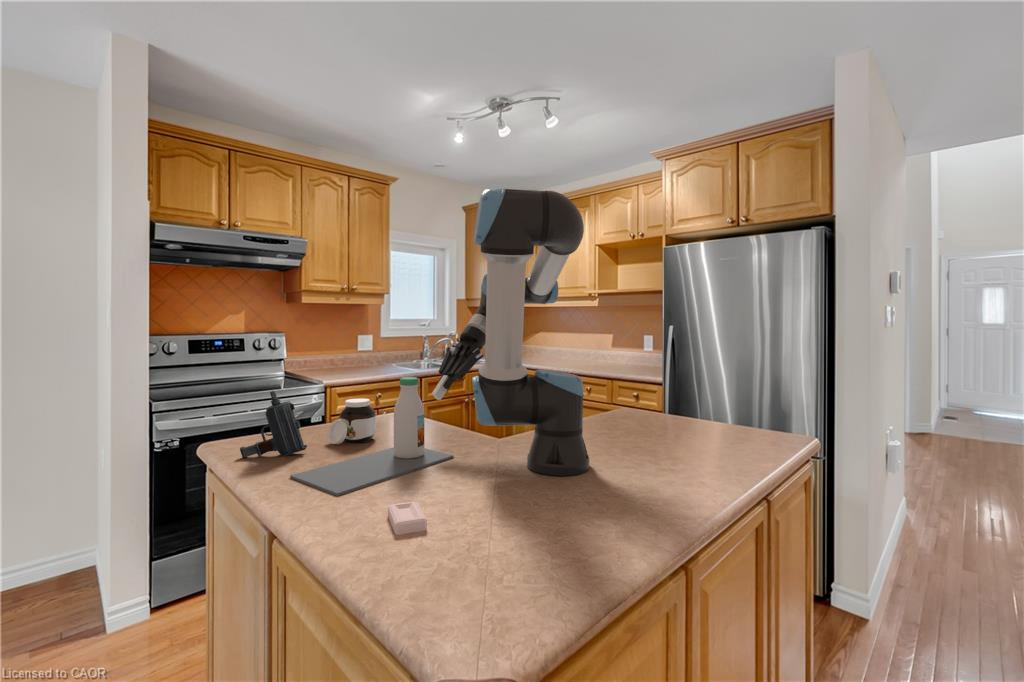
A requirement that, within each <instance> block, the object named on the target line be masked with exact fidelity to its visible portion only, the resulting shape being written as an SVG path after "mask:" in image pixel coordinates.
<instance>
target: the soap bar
mask: <svg viewBox="0 0 1024 682" xmlns="http://www.w3.org/2000/svg"><path fill="white" fill-rule="evenodd" d="M387 518H388V519H389V522H390V524H391V527H392V529H393V531H394V532H393V533H394V534H395V535H398V536H400V535H407V534H413V533H418V532H424V531H426V530H428V525H427V524H428V522H427V521H428V520H427V518H426V516H425V514H424V512H423V510H422V508H421V507H420V505H419V503H418V502H417V501H408V502H400V503H394V504H390V505H388V506H387Z"/></svg>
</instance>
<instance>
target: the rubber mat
mask: <svg viewBox="0 0 1024 682" xmlns="http://www.w3.org/2000/svg"><path fill="white" fill-rule="evenodd" d="M453 458H455V456H454V455H453V454H449V453H446V452H442V451H436V450H433V449H429V448H425V447H424V455H423V456H421V457H418V458H412V459H402V458H397V457H395V455H394V446H393V447H390V448H386V449H382V450H379V451H375V452H372V453H368V454H364V455H360V456H356V457H353V458H349V459H346V460H342V461H338V462H334V463H331V464H328V465H323V466H318V467H316V468H312V469H308V470H305V471H301V472H297V473H294V474H291V475H289V476H290V477H289V478H290V479H292V480H295V481H297V482H300V483H303V484H305V485H307V486H310V487H313V488H315V489H318V490H320V491H323V492H326V493H329V494H330V495H333V496H336V497H339V496H343V495H345V494H349V493H352V492H354V491H357V490H360V489H363V488H367V487H369V486H372V485H374V484H375V485H376V484H378V483H382V482H384V481H387V480H388V481H389V480H391V479H393V478H396V477H399V476H402V475H403V476H404V475H406V474H408V473H412V472H414V471H417V470H420V469H421V470H422V469H423V468H426V467H429V466H432V465H436V464H438V463H442V462H445V461H447V460H448V461H449V460H451V459H453Z"/></svg>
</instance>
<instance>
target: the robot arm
mask: <svg viewBox="0 0 1024 682" xmlns="http://www.w3.org/2000/svg"><path fill="white" fill-rule="evenodd" d="M474 226H475V227H474V235H473V243H474V244H475V245H476V246H480V254H481V255H482V256H483V257H484V258H485V260H486V261H487V262H486V266H487V267H486V273H485V274H484V275H483V277H482V282H481V286H480V298H479V299H480V301H479V306H478V307H477V310H476V311H475V313H473V315H472V317H471V318H470V319H469V321H468V323H467V324H466V327H464V329H463V331H461V333H460V335H459V341H458V342H457V343H456V344H455V345H454V347H450V346H448V347H447V348H445V349H446V351H445V354H444V358H442V359H443V360H442V362H441V364H440V367H439V370H438V371H437V372H438V374H439V375H440V378H439V380H438V381H437V383H436V386H435V388H434V389H433V391H432V392H431V395H432V396H433V397H434V398H435V399H436V401H437V400H438V401H441V400H442V399H443V398H444V395H445V394H446V393H447V390H449V389H451V386H452V385H453V383H454V382H455V381H457V380H458V381H461V380H463V378H464V377H465V376H466V375H467V373H469V371H470V370H471V369H473V367H474V366H475V364H477V362H479V360H481V359H482V358H483V357H484V356H485V357H484V359H485V360H484V363H483V364H482V365H481V366H480V367H479V368H478V375H475V376H473V377H472V379H471V380H472V381H471V382H472V389H473V390H472V391H473V398H474V403H475V412H476V420H477V422H478V423H479V424H480V425H482V426H494V427H498V426H499V427H501V426H502V427H503V426H531V425H532V426H533V425H534V435H533V439H532V441H531V444H530V448H529V452H528V454H527V457H526V466H527V468H528V469H529V470H530V471H533V472H534V473H537V474H541V475H546V476H555V477H557V476H558V477H561V476H562V477H566V476H575V475H581V474H584V473H586V472H588V471H589V470H590V457H589V454H588V450H587V447H586V444H585V440H584V436H583V432H584V431H583V428H584V427H583V425H584V423H583V421H584V419H583V418H584V417H583V416H584V415H583V413H584V397H585V394H584V383H583V382H584V381H583V379H582V378H581V376H578V375H577V374H572V373H569V372H564V371H558V370H551V369H550V370H549V369H536V370H535V371H534V373H533V375H531V376H529V375H528V374H529V371H528V369H527V368H526V367H525V366H524V365H523V345H524V344H523V343H524V342H523V341H524V322H525V321H524V319H525V318H524V317H525V304H527V305H529V304H531V305H546V304H547V305H549V304H555V303H556V302H557V300H558V296H559V283H558V278H559V277H560V275H561V273H562V271H563V269H564V267H565V265H566V263H567V260H568V259H569V256H570V255H572V254H573V253H575V252H576V251H577V250H578V248H579V246H580V245H581V243H582V240H583V237H584V232H585V230H584V229H585V226H584V220H583V217H582V215H581V213H580V210H579V209H578V207H577V206H576V204H575V203H574V202H573V201H572V200H571V199H570V198H569V197H567V196H566V195H564V194H562V193H561V192H557V191H555V190H535V189H515V188H512V189H511V188H489V189H485V190H484V191H482V193H481V195H480V197H479V201H478V205H477V211H476V218H475V225H474ZM535 247H538V251H537V252H536V256H535V259H534V262H533V264H532V267H531V270H530V272H529V275H528V277H526V275H527V272H526V270H527V262H528V261H529V260H530V259H531V258H532V257H533V256H534V252H535V251H534V248H535ZM484 348H485V349H484ZM482 349H484V351H485V352H484V355H483V353H482V351H481V350H482Z"/></svg>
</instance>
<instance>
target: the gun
mask: <svg viewBox="0 0 1024 682" xmlns="http://www.w3.org/2000/svg"><path fill="white" fill-rule="evenodd" d="M269 394H270V397H271V400H270V403H271V405H270V406H268V407H266V411H265V413H264V414H265V418H266V419H267V422H268V424H266V425H264V426H263V427H262V428H261V430H260V435H261V437H262V441H257V442H256V443H255V444H251V445H249V446H241V447H239V451H240V454H241V457H242V459H246V458H248V457H251V456H253V455H254V456H255V455H257V456H258V457H261V456H263V455H264V454H266V453H269V452H276V451H277V452H278V454H280V456H281V457H283V458H284V457H286V456H289V455H292V454H296V453H300V452H302V451H306V449H307V448H308V445H307V444H305V443H304V441H303V438H302V437H303V436H302V433H301V431H300V429H301V428H302V427H301V423H300V420H297V419H296V416H295V413H294V410H295V409H296V408H295V405H294V403H292V402H291V400H287V401H283V402H281V400H280V398H278V397H277V396H278V395H277V394H276V391H275V390H273V391H270V392H269ZM265 428H269V430H270V433H264V430H265ZM266 436H268V437H270V436H272V437H271V438H269V439H266Z"/></svg>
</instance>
